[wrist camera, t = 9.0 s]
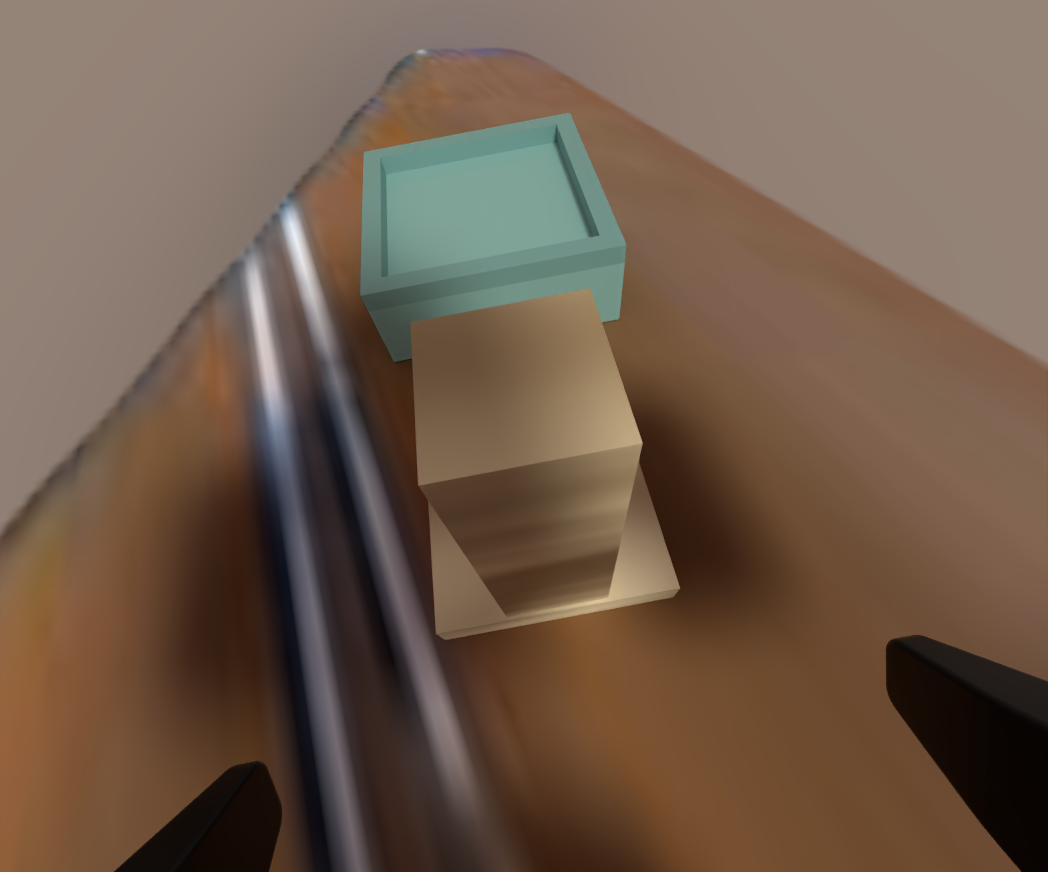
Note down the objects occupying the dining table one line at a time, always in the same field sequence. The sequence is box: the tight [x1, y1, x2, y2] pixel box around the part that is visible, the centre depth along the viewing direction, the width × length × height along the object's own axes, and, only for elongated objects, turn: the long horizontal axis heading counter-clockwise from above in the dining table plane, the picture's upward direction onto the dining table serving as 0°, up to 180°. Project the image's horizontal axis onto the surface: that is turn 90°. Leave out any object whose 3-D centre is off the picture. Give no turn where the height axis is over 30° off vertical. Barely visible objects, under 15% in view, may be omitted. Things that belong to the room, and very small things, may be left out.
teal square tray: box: [360, 113, 626, 362], centre depth 22 cm, size 10×10×4 cm
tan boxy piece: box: [410, 288, 680, 640], centre depth 12 cm, size 7×7×10 cm
